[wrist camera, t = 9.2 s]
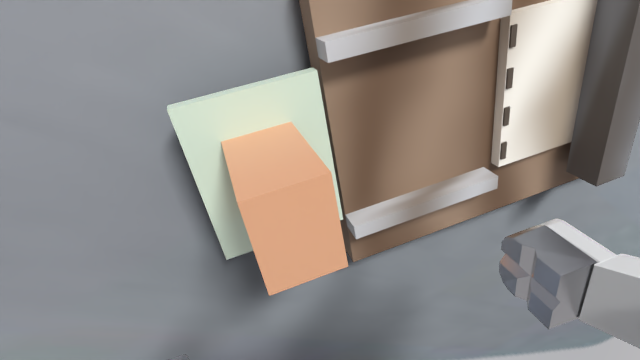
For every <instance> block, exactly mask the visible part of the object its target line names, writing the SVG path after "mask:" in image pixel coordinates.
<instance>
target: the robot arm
mask: <svg viewBox="0 0 640 360" xmlns="http://www.w3.org/2000/svg"><path fill="white" fill-rule="evenodd" d="M501 250H502V251H503V252H504V253H505V255H504V256H503V258H502V259H501V261H500V265H499V273H500V276H501V278H502V281H503V283H504V284H505V286H506V287H507V289H508V290H509V291H510V292H511V293H512V294H513V295H514V296H515V297H518V298H521V299H523V300H526V301H527V306H528V310H529V311H530V312H531V313H532V314H533V315H534V316H535V317H536V318H537V319H538V320H539V321H540V322H542V323H543V324H544V325H545V326H546V327H547V328H548V329H552V328H554V327H557V326H559V325H562V324H565V323H567V322H570V321H572V320H575V319H578V318H579V320H580V321H582V322H584V323H586V324H588V325H590V326H592V327H595V328H597V329H599V330H601V331H603V332H605V333H608V334H610V335H612V336H614V337H616V338H618V339H620V340H623V341H625V342H627V343H629V344H631V345H633V346H636V347H638V348H640V258H638V257H634V256H630V255H626V254H619V255H616V254H614V253H613V252H611V251H610V250H608V249H607V248H605V247H603V246H602V245H600V244H599V243H597V242H596V241H594V240H593V239H591V238H590V237H588V236H587V235H585V234H584V233H582V232H580V231H579V230H577V229H576V228H574V227H573V226H571V225H570V224H568V223H567V222H565V221H563V220H560V219H553V220H551V221H548V222H545V223H542V224H540V225H538V226H533V227H531V228H528V229H526V230H523V231H520V232H518V233H515V234H512V235H510V236H507V237H505V238H504V240H503V241H502V246H501ZM168 360H189V358H188V356H187V355H186V354H183V355H180V356H177V357H174V358H171V359H168Z"/></svg>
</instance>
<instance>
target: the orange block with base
mask: <svg viewBox="0 0 640 360" xmlns="http://www.w3.org/2000/svg"><path fill="white" fill-rule="evenodd" d="M167 111H168V114H169V116H170V119H171V121H172V124H173V126H174V129H175V131H176V134H177V136H178V139H179V141H180V144H181V146H182V149H183V151H184V154H185V157H186V159H187V162H188V164H189V167H190V169H191V172H192V174H193V177H194V179H195V182H196V184H197V187H198V189H199V192H200V194H201V197H202V199H203V202H204V204H205V207H206V209H207V212H208V214H209V217H210V219H211V222H212V224H213V227H214V229H215V232H216V234H217V237H218V239H219V242H220V245H221V247H222V250H223V252H224V255H225V257H226V260H228V259H231V258H233V257H236V256H239V255H242V254H245V253H248V252H251V251H254V253H255V256H256V259H257V262H258V265H259V268H260V271H261V274H262V277H263V279H264V282H265V285H266V288H267V291H268V294H269V296H270V295H273V294H276V293H278V292H281V291H284V290H286V289H289V288H292V287H294V286H297V285H300V284H302V283H305V282H308V281H310V280H313V279H316V278H318V277H321V276H324V275H326V274H329V273H332V272H334V271H337V270H340V269H342V268H345V267H348V262H347V256H346V251H345V245H344V240H343V234H342V229H341V223H340V220H343V215H342V209H341V204H340V198H339V192H338V187H337V181H336V175H335V169H334V164H333V158H332V152H331V147H330V141H329V135H328V129H327V124H326V118H325V112H324V106H323V101H322V95H321V89H320V84H319V78H318V72H317V70H316V69H315V68H313V67H312V68H308V69H305V70H301V71H297V72H293V73H289V74H285V75H282V76H278V77H274V78H270V79H266V80H263V81H259V82H255V83H251V84H247V85H243V86H240V87H236V88H232V89H228V90H224V91H221V92H217V93H213V94H209V95H205V96H202V97H198V98H194V99H190V100H186V101H182V102H179V103H175V104H171V105H167Z"/></svg>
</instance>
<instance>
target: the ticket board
mask: <svg viewBox="0 0 640 360" xmlns="http://www.w3.org/2000/svg"><path fill="white" fill-rule="evenodd" d="M299 3H300V9H301V14H302V20H303V25H304V31H305V36H306V42H307V47H308V53H309V58H310V64H311V68H312V67H313V68H315V69H316V70H317V72H318V78H319V84H320V89H321V95H322V101H323V106H324V112H325V118H326V124H327V129H328V135H329V141H330V147H331V152H332V158H333V164H334V169H335V175H336V181H337V187H338V192H339V198H340V204H341V209H342V215H343V220H340V223H341V229H342V234H343V240H344V245H345V249H346V251H347V253H348V254H349V256H350V257H351V259H352V261H353V262H355V261H358V260H361V259H363V258H366V257H369V256H371V255H374V254H377V253H379V252H382V251H385V250H387V249H390V248H393V247H395V246H398V245H401V244H404V243H406V242H409V241H412V240H414V239H417V238H420V237H422V236H425V235H428V234H430V233H433V232H436V231H438V230H441V229H444V228H446V227H449V226H452V225H455V224H457V223H460V222H463V221H465V220H468V219H471V218H473V217H476V216H479V215H481V214H484V213H487V212H489V211H492V210H495V209H498V208H500V207H503V206H506V205H508V204H511V203H514V202H516V201H519V200H522V199H524V198H527V197H530V196H532V195H535V194H538V193H540V192H543V191H546V190H549V189H551V188H554V187H557V186H559V185H562V184H565V183H567V182H570V181H573V180H575V179H578V178H580V179H582V180H584V181H586V182H588V183H590V184H592V185H595V186H599V185H601V184H604V183H606V182H609V181H612V180H614V179H617V178H620V177H622V176H624V175H625V171H626V167H627V164H628V160H629V156H630V153H631V149H632V146H633V142H634V138H635V135H636V131H637V128H638V124H639V120H640V0H299Z"/></svg>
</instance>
